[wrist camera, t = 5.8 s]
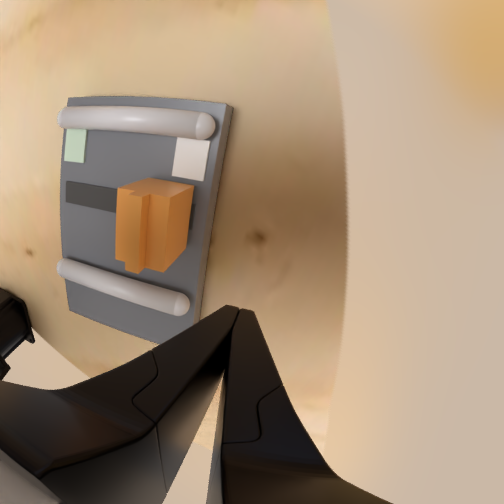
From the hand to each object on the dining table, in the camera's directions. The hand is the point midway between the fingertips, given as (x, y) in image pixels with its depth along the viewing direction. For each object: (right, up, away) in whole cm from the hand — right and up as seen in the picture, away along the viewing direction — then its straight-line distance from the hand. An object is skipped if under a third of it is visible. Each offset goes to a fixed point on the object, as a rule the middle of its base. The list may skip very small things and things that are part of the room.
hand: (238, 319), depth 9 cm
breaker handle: (-5, +4, +9) cm, 11 cm away
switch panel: (-8, +4, +12) cm, 15 cm away
